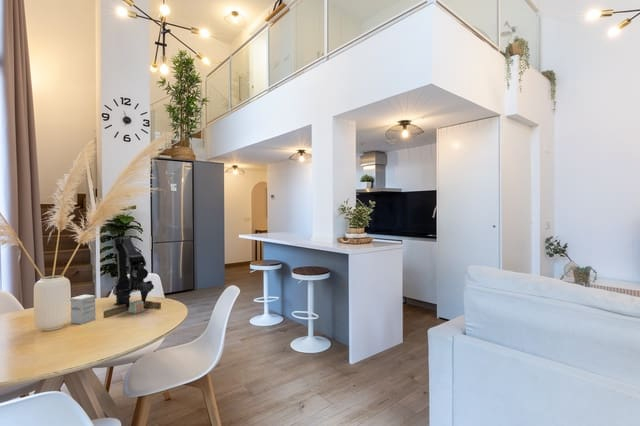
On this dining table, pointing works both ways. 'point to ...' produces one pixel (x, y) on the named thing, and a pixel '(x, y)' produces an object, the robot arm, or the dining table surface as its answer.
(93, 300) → the supplement box
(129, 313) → the tile
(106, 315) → the block
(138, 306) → the sage cube
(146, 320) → the dining table surface
